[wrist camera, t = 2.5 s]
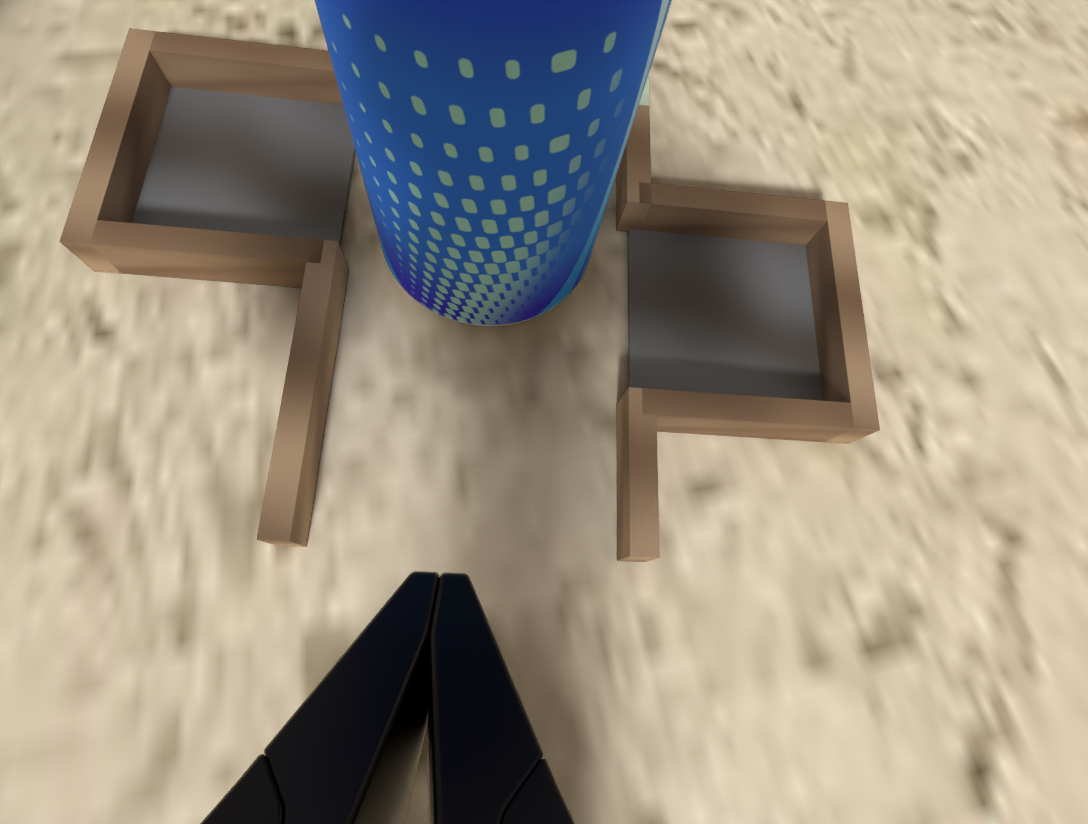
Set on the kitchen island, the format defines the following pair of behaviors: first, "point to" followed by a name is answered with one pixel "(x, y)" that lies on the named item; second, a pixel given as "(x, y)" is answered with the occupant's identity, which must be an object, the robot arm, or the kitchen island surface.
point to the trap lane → (321, 270)
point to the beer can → (490, 138)
